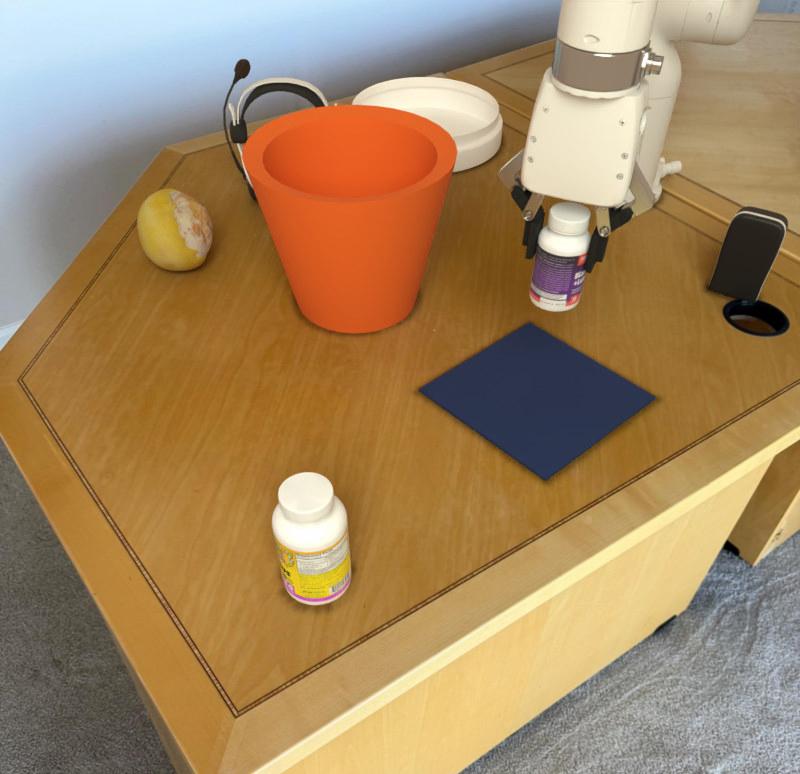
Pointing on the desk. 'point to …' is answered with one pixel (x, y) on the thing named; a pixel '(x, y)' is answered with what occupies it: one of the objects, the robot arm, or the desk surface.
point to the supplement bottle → (312, 539)
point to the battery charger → (748, 253)
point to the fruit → (174, 230)
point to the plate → (446, 112)
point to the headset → (262, 87)
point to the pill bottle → (561, 258)
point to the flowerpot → (352, 207)
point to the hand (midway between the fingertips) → (561, 257)
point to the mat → (537, 399)
